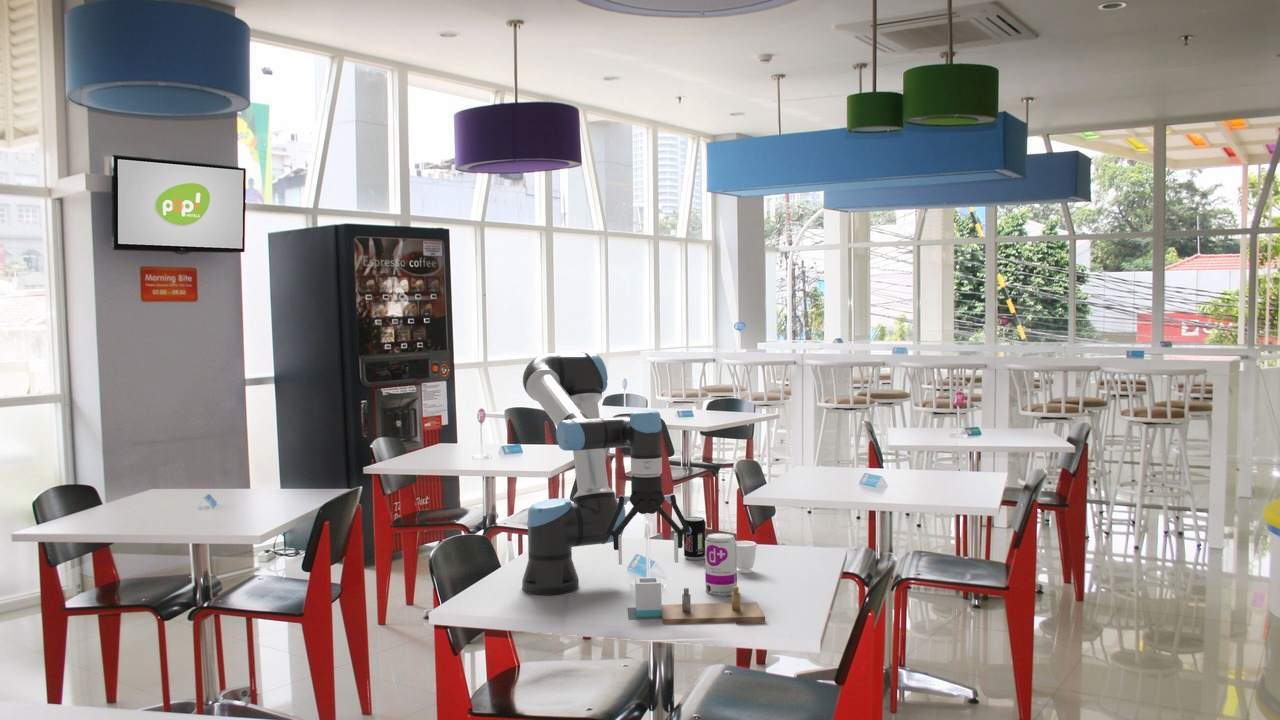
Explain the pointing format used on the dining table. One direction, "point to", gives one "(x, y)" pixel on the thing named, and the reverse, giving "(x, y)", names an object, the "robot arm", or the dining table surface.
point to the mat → (633, 617)
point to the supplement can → (720, 564)
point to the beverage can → (695, 538)
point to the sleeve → (648, 596)
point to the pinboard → (712, 611)
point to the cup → (745, 556)
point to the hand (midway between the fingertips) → (648, 562)
